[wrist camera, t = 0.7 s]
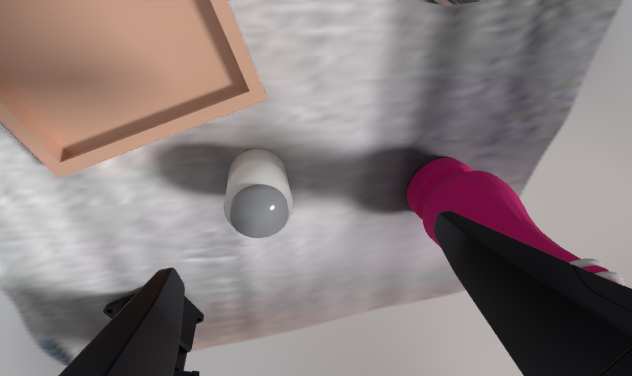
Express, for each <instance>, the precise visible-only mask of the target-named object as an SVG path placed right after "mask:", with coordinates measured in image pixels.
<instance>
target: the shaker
mask: <svg viewBox="0 0 632 376" xmlns="http://www.w3.org/2000/svg"><path fill="white" fill-rule="evenodd" d="M224 212H225V216H226V218H227V220H228V221H229V223H230V224H231V225H232V226H233V227H234V228H235V229H236V230H237V231H238V232H240V233H241V234H243V235H245V236H248V237H253V238H263V237H268V236H271V235H273V234H275V233H277V232H279V231H280V230H281V229H282V228H283V227H284V226H285V224H286V223H287V221H288V220H289V219H290V217H291V215H292V212H293V199H292V195H291V191H290V187H289V183H288V179H287V175H286V171H285V167H284V165H283V163H282V161H281V160H280V158H279V157H278V156H277V155H275V154H274V153H272V152H270V151H268V150H264V149H250V150H247V151H244V152H242V153H241V154H239V155H238V156H237V157H236V158H235V159H234V160H233V162H232V163H231V166H230V169H229V176H228V183H227V190H226V196H225V203H224Z"/></svg>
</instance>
